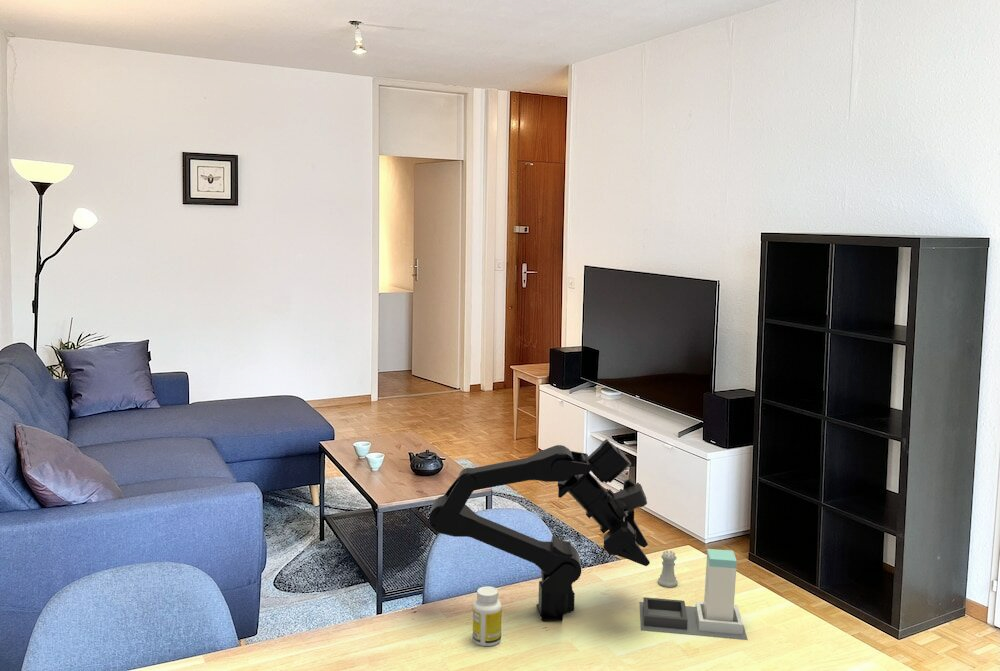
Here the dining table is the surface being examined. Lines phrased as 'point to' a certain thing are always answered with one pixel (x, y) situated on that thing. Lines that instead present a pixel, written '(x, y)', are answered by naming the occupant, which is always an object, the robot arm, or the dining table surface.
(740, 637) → the board
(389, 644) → the dining table surface
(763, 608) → the dining table surface
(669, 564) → the rook chess piece
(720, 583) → the plug
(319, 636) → the dining table surface
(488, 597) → the supplement bottle
